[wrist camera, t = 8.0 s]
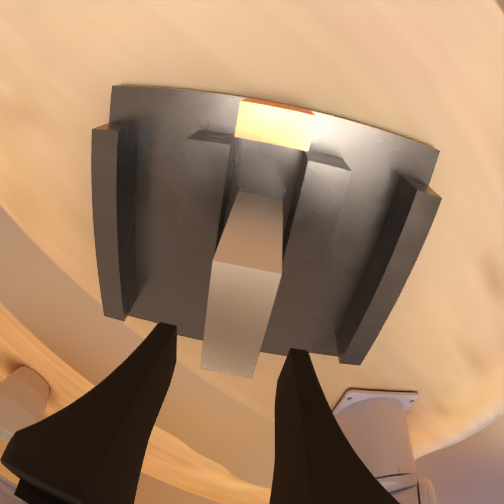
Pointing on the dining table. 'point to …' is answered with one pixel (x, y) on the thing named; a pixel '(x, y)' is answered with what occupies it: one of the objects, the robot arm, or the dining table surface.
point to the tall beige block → (243, 285)
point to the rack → (265, 184)
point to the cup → (21, 401)
